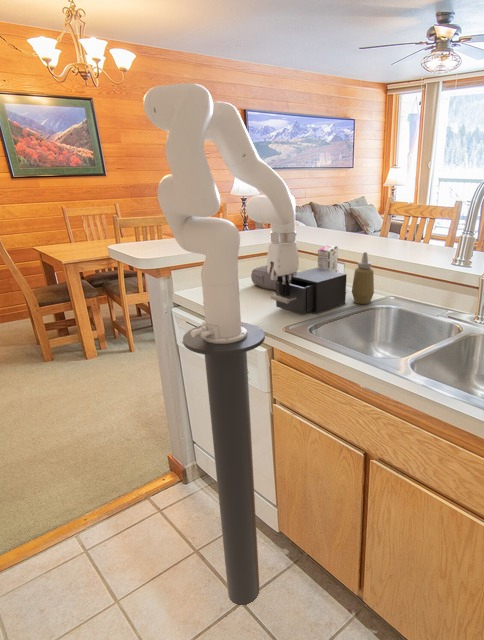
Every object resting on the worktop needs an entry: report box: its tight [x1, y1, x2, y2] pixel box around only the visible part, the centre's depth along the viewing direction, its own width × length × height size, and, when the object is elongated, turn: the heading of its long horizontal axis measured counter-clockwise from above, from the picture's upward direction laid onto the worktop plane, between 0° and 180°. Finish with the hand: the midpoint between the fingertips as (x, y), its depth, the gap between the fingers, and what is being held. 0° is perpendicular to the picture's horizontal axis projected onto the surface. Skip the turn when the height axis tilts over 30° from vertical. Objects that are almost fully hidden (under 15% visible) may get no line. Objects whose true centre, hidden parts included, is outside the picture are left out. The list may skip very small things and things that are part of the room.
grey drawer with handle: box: [270, 279, 315, 316], centre depth 147 cm, size 20×13×9 cm, turn 139°
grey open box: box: [292, 267, 348, 315], centre depth 154 cm, size 16×14×11 cm
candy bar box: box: [317, 244, 339, 272], centre depth 171 cm, size 11×5×16 cm, turn 161°
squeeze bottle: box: [351, 251, 375, 305], centre depth 156 cm, size 8×8×18 cm
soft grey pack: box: [250, 264, 276, 291], centre depth 175 cm, size 15×8×20 cm
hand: (284, 295), depth 142 cm, fingers closed
